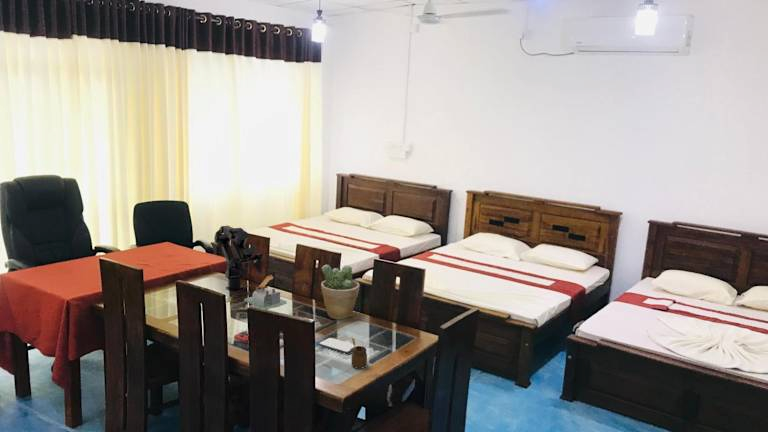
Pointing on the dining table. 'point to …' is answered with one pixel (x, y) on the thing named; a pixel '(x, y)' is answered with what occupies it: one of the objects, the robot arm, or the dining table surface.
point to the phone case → (337, 345)
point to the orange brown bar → (265, 281)
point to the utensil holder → (359, 355)
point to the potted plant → (339, 291)
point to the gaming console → (242, 336)
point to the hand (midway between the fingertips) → (253, 274)
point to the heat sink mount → (265, 298)
